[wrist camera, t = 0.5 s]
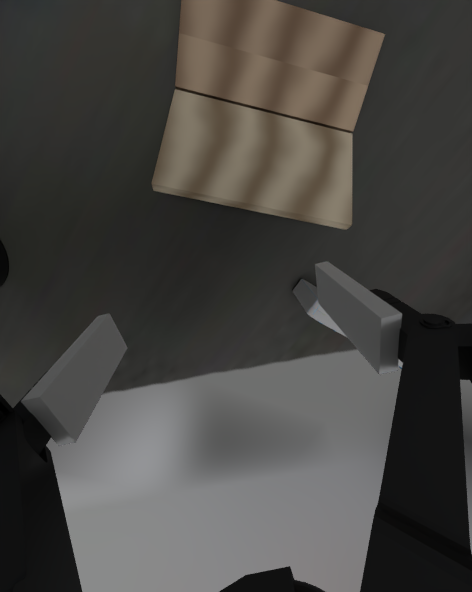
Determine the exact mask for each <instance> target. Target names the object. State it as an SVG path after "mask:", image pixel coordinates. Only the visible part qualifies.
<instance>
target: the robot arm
mask: <svg viewBox="0 0 472 592" xmlns="http://www.w3.org/2000/svg"><path fill="white" fill-rule="evenodd" d="M315 271H316V282H317V293H318V303H319V304H320V306H321V307H322V308H323V309H324V310H325V312H326V313H327V314H328V315H329V316H330V317H331V319H332V320H333V321H334V322H335V323H336V324H337V326H338V327H339V328H340V329H341V330H342V331H343V333H344V334H345V335H346V336H347V337H348V339H349V340H350V341H351V342H352V343H353V344H354V346H355V347H356V348H357V349H358V350H359V351H360V353H361V354H362V355H363V356H364V357H365V358H366V360H367V361H368V362H369V363H370V364H371V365H372V367H373V368H374V369H375V370H376V371H377V372H378V374H384V373H388V372H393V371H398V360H400V361H401V362H402V363H403V365H402V371H401V376H400V382H399V388H398V394H397V399H396V405H395V411H394V417H393V422H392V428H391V434H390V439H389V445H388V451H387V456H386V462H385V468H384V473H383V479H382V485H381V490H380V496H379V501H378V505H377V507H376V510H375V514H374V519H373V524H372V530H371V535H370V540H369V546H368V551H367V558H366V563H365V568H364V573H363V579H362V584H361V590H360V592H472V554H471V549H470V537H469V522H468V505H467V488H466V472H465V456H464V440H463V424H462V407H461V392H460V379H462V380H470V381H471V383H472V324H455V322H454V321H452V320H451V319H449V318H447V317H444V316H441V315H436V314H421V313H419V312H417V311H416V310H414V309H413V308H411V307H410V306H408V305H406V304H405V303H403V302H401V301H400V300H399V299H397V298H395V297H394V296H392V295H391V294H389V293H388V292H385V291H382V290H378V289H374V290H370V291H369V290H368V289H366V288H365V287H363V286H362V285H361V284H359V283H358V282H356V281H355V280H353V279H352V278H350V277H349V276H348V275H346V274H345V273H343V272H342V271H340V270H339V269H338V268H336V267H335V266H333V265H332V264H330V263H329V262H328V261H326V262H322V263H318V264H315ZM7 273H8V260H7V256H6V253H5V250H4V248H3V246H2V244H1V242H0V286H1V285H2V284H3V283H4V281H5V279H6V277H7ZM126 350H127V346H126V344H125V342H124V340H123V338H122V336H121V334H120V333H119V331H118V329H117V327H116V325H115V323H114V321H113V319H112V317H111V315H110V313H108V314H104V315H100V316H97V317H96V319H95V320H94V321H93V322H92V323H91V324H90V325H89V326H88V327H87V329H86V330H85V331H84V332H83V333H82V334H81V335H80V336H79V337H78V338H77V340H76V341H75V342H74V343H73V344H72V345H71V346H70V347H69V348H68V350H67V351H66V352H65V353H64V354H63V355H62V356H61V357H60V358H59V359H58V361H57V362H56V363H55V364H54V365H53V366H52V367H51V368H50V369H49V370H48V371H47V372H46V373H45V374H44V375H43V376H42V377H41V378H40V379H39V382H37V383H36V384H35V385H34V386H33V388H32V389H30V390H29V391H28V393H27V394H26V395H25V396H24V397H23V398H22V399H21V400H20V401H19V402H18V404H17V405H16V406H15V407H14V408H12V407H11V406H10V405H9V404H8V402H7V401H6V400H5V399H4V398H3V397H2V396H1V395H0V592H82V589H81V584H80V579H79V575H78V571H77V566H76V563H75V558H74V553H73V548H72V544H71V540H70V536H69V531H68V527H67V522H66V518H65V513H64V509H63V505H62V500H61V496H60V491H59V487H58V482H57V478H56V473H55V469H54V465H53V460H52V456H51V452H50V450H49V449H48V448H47V447H46V444H47V443H48V441H49V440H50V438H52V439H53V440H54V441H55V442H56V443H57V444H58V446H61V445H66V444H70V443H75V442H76V441H77V439H78V437H79V435H80V434H81V432H82V430H83V428H84V426H85V424H86V423H87V421H88V419H89V417H90V415H91V413H92V412H93V410H94V408H95V406H96V404H97V403H98V401H99V399H100V397H101V395H102V394H103V392H104V390H105V388H106V386H107V384H108V383H109V381H110V379H111V377H112V375H113V373H114V372H115V370H116V368H117V366H118V364H119V362H120V361H121V359H122V357H123V355H124V353H125V351H126ZM220 592H325V591H323V590H321V589H320V588H318V587H316V586H313V585H311V584H308V583H306V582H301V581H297V580H294V578H293V574H292V571H291V568H290V566H289V567H285V568H279V569H275V570H270V571H265V572H260V573H255V574H250V575H245V576H244V577H242V578H240V579H239V580H237V581H236V582H234V583H233V584H231V585H229V586H228V587H226V588H224V589H223V590H221V591H220Z"/></svg>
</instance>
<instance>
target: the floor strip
mask: <svg viewBox="0 0 472 592" xmlns="http://www.w3.org/2000/svg"><path fill="white" fill-rule="evenodd" d="M384 36H385V34H383V33H380V32H376V31H373V30H370V29H367V28H363V27H360V26H357V25H354V24H351V23H347V22H344V21H341V20H338V19H334V18H331V17H328V16H325V15H321V14H318V13H315V12H312V11H308V10H305V9H302V8H299V7H296V6H292V5H289V4H286V3H283V2H279V1H276V0H182V1H181V15H180V28H179V42H178V55H177V69H176V83H175V87H176V89H177V90H180V91H184V92H188V93H192V94H196V95H200V96H204V97H208V98H212V99H216V100H220V101H224V102H228V103H232V104H236V105H240V106H244V107H248V108H252V109H256V110H260V111H264V112H268V113H272V114H276V115H279V116H283V117H287V118H291V119H295V120H299V121H303V122H307V123H311V124H315V125H319V126H323V127H327V128H331V129H335V130H339V131H343V132H347V133H351V132H353V131H354V128H355V124H356V121H357V118H358V115H359V112H360V109H361V106H362V103H363V100H364V97H365V94H366V91H367V88H368V85H369V82H370V78H371V75H372V72H373V69H374V66H375V63H376V60H377V57H378V54H379V51H380V48H381V45H382V42H383V39H384Z"/></svg>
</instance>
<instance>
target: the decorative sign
mask: <svg viewBox="0 0 472 592" xmlns="http://www.w3.org/2000/svg"><path fill="white" fill-rule="evenodd" d="M293 293H294V294H295V296H296V297H297V299H298V300H299V302H300V304H301V305H302V307H303V308H304V310H305V311H306V313H307V314H308V315H310V316H311V317H312V318H314V319H316V320H317V321H318V322H320V323H321V324H324V325H326V326H328V327H329V328H331V329H333V330H334V331H335V332H336V331H337V332H338V333H340V334H342V335H344V336H346V335H345V334H344V333H343V331H342V330H341V329H340V328H339V327H338V326H337V324H336V323H335V322H334V321H333V320H332V319H331V317H330V316H329V315H328V314H327V313H326V312H325V310H324V309H323V308H322V307H321V306H320V304H319V303H318V293H317V287H316V286H314V285H312V284H311V283H309V282H307V281H306V280H304V279H301V280H300V281H299V283H298V284H297V285H296V287H295V288H294V290H293ZM346 337H347V336H346ZM347 338H348V337H347ZM402 365H403V363H402V362H401V361H400V360H398V366H399V367H400V368H401V369H402Z"/></svg>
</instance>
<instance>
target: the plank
mask: <svg viewBox="0 0 472 592" xmlns="http://www.w3.org/2000/svg"><path fill="white" fill-rule="evenodd" d="M152 187H153V191H157V192H162V193H167V194H172V195H177V196H182V197H187V198H192V199H197V200H202V201H207V202H212V203H217V204H222V205H227V206H232V207H237V208H241V209H246V210H251V211H256V212H261V213H266V214H271V215H276V216H281V217H286V218H291V219H296V220H301V221H306V222H311V223H316V224H321V225H326V226H330V227H335V228H340V229H345V230H346V229H348V228H349V227H350V226H351V225H352V134H351V133H347V132H343V131H339V130H335V129H331V128H327V127H323V126H319V125H315V124H311V123H307V122H303V121H299V120H295V119H291V118H287V117H283V116H279V115H276V114H272V113H268V112H264V111H260V110H256V109H252V108H248V107H244V106H240V105H236V104H232V103H228V102H224V101H220V100H216V99H212V98H208V97H204V96H200V95H196V94H192V93H188V92H184V91H180V90H176V89H175V91H174V95H173V99H172V103H171V107H170V111H169V115H168V119H167V124H166V128H165V132H164V136H163V140H162V144H161V148H160V152H159V156H158V160H157V164H156V168H155V172H154V176H153V180H152Z"/></svg>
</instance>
